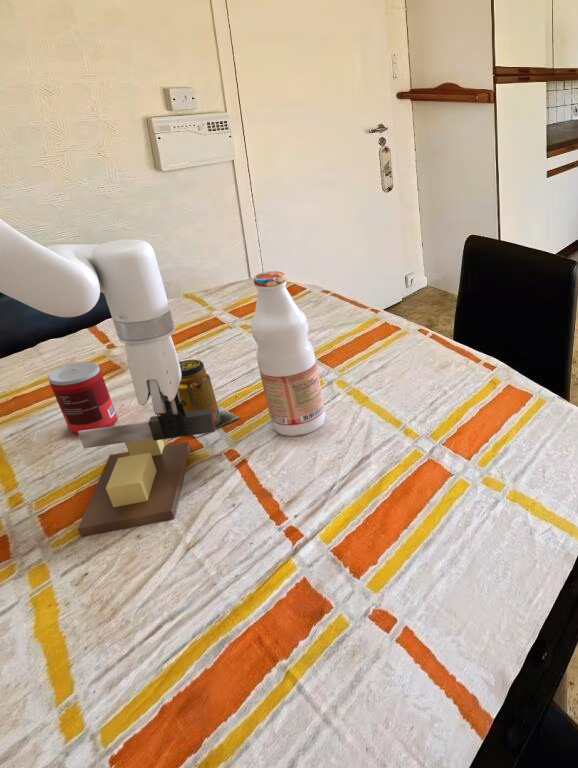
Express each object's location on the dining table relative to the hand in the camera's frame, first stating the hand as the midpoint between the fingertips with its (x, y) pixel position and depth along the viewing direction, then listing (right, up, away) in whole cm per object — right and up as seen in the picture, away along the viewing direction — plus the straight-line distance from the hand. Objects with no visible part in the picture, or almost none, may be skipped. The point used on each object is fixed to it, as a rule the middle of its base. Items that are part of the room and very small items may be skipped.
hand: (176, 430), depth 101 cm
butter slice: (-6, -4, +2) cm, 7 cm away
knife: (-3, -1, -1) cm, 3 cm away
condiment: (-1, 0, +14) cm, 14 cm away
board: (-3, -9, -4) cm, 10 cm away
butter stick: (-3, -8, -6) cm, 11 cm away
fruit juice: (+16, 0, +13) cm, 20 cm away
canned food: (-22, 0, +13) cm, 26 cm away
